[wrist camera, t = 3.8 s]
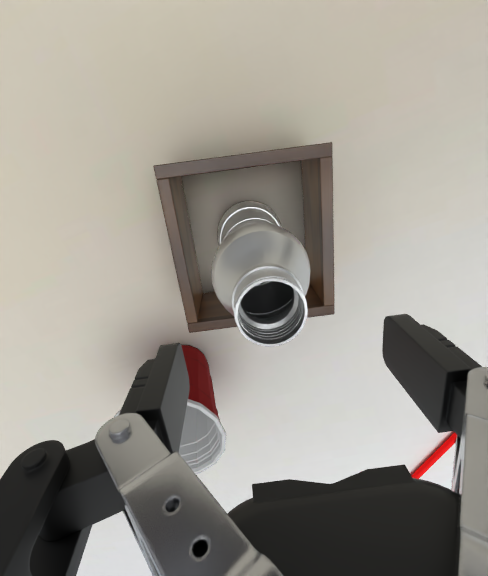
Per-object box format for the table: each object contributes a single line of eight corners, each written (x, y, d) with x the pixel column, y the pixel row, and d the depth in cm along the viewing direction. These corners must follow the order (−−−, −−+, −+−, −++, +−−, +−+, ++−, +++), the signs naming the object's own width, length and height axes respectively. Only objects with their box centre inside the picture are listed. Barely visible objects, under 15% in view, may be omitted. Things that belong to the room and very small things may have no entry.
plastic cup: (134, 391, 41) (99, 477, 30) (147, 319, 37) (113, 387, 26) (216, 405, 42) (211, 493, 31) (236, 338, 39) (240, 410, 27)
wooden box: (169, 164, 31) (153, 165, 24) (309, 146, 31) (332, 142, 24) (196, 300, 36) (189, 333, 30) (314, 285, 36) (334, 314, 30)
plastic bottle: (222, 263, 35) (213, 378, 16) (214, 200, 32) (193, 253, 14) (279, 257, 35) (336, 366, 16) (276, 194, 32) (340, 238, 14)
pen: (482, 408, 44) (488, 414, 43) (397, 492, 50) (401, 499, 49) (477, 406, 44) (483, 412, 43) (393, 491, 50) (396, 498, 49)
